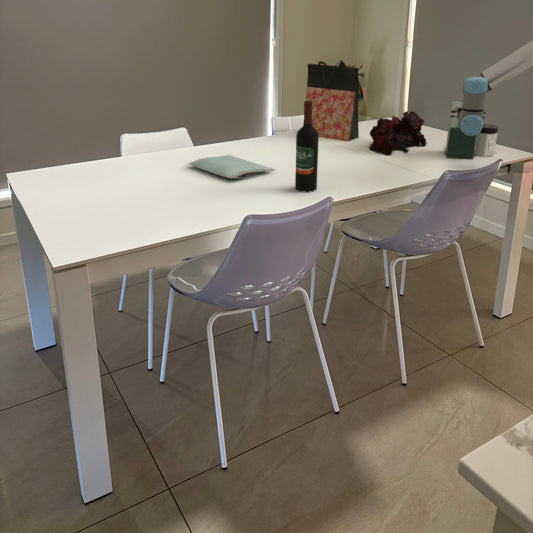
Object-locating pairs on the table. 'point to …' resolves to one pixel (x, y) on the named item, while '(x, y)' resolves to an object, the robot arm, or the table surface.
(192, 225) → the table surface
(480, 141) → the jar
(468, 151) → the tea tin
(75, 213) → the table surface
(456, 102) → the tin lid
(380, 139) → the flower arrangement
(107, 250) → the table surface
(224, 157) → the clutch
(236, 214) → the table surface
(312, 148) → the wine bottle
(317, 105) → the gift bag
